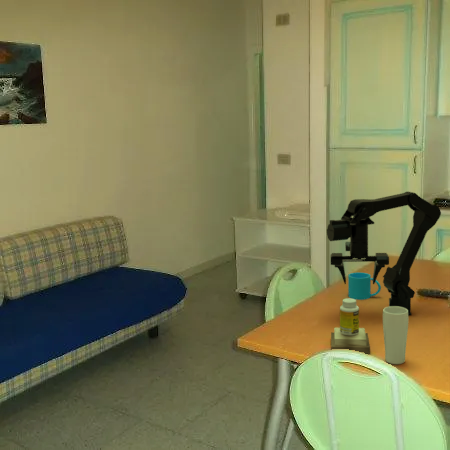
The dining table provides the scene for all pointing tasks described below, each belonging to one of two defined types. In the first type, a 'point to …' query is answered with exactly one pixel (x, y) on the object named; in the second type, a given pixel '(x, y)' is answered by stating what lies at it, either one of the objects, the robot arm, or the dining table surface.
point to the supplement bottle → (349, 317)
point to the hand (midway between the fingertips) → (359, 283)
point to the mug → (361, 286)
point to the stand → (350, 341)
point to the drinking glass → (395, 333)
